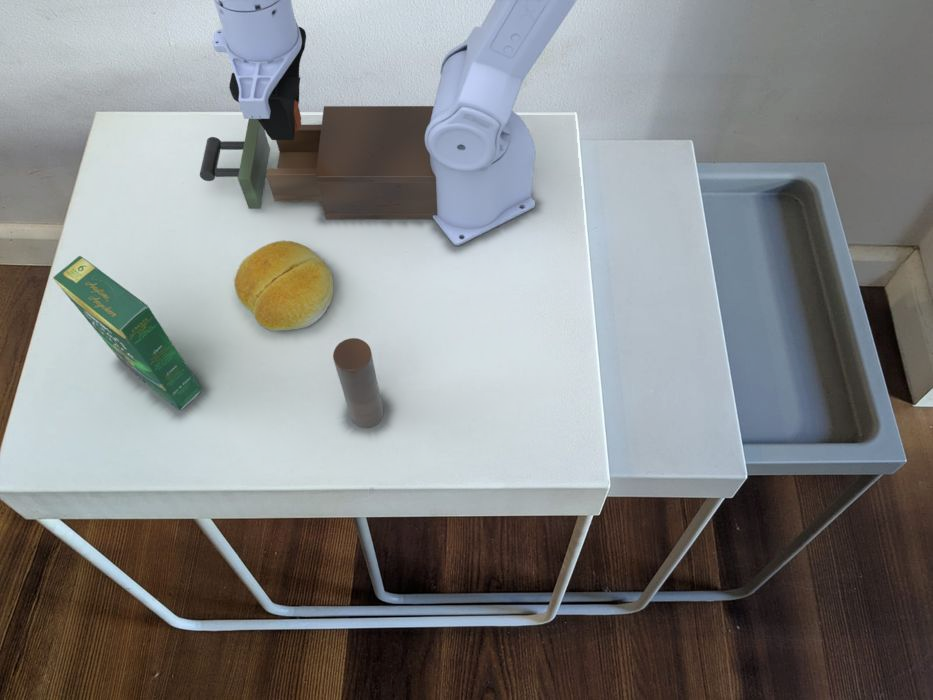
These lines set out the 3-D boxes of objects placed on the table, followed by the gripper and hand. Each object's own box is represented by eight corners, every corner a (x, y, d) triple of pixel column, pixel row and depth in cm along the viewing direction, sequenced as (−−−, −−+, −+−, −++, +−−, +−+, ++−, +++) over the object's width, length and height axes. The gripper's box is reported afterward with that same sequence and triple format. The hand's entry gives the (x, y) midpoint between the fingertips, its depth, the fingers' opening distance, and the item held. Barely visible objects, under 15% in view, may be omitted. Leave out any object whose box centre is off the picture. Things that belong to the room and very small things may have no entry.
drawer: (205, 209, 75) (192, 178, 71) (217, 149, 79) (205, 117, 75) (356, 208, 75) (350, 178, 72) (361, 149, 79) (356, 117, 75)
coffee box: (117, 362, 68) (47, 275, 56) (142, 339, 69) (79, 250, 57) (179, 413, 65) (119, 334, 54) (204, 390, 66) (151, 306, 55)
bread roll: (280, 350, 68) (270, 327, 65) (226, 287, 72) (214, 261, 68) (355, 300, 71) (349, 275, 68) (299, 241, 74) (291, 214, 71)
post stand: (373, 392, 66) (359, 331, 57) (389, 417, 65) (378, 359, 56) (344, 408, 66) (326, 349, 57) (360, 434, 64) (344, 377, 56)
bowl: (292, 108, 72) (287, 89, 70) (306, 127, 71) (302, 109, 69) (262, 120, 71) (257, 101, 69) (277, 140, 70) (271, 122, 68)
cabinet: (325, 219, 76) (315, 176, 70) (332, 151, 80) (323, 105, 75) (443, 219, 76) (442, 176, 71) (444, 150, 80) (443, 105, 75)
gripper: (212, -69, 62) (251, 67, 74) (180, 52, 55) (229, 182, 67) (299, -69, 63) (324, 67, 74) (279, 52, 55) (311, 182, 67)
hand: (285, 122), depth 71 cm, fingers closed on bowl, 3 cm apart
